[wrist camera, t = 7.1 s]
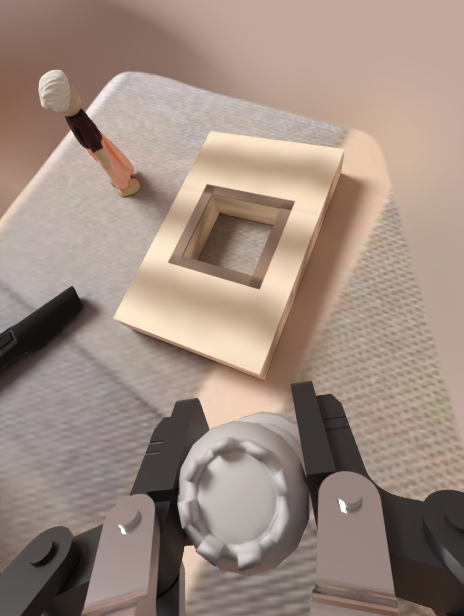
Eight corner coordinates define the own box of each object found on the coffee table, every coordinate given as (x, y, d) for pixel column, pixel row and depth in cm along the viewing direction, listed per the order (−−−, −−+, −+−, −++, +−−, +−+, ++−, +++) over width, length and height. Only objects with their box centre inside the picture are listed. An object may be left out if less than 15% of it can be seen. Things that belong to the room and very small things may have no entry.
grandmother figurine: (154, 184, 37) (86, 74, 26) (130, 207, 37) (49, 105, 25) (117, 156, 40) (41, 46, 29) (95, 176, 40) (8, 73, 28)
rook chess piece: (260, 392, 15) (222, 356, 8) (342, 459, 14) (387, 489, 6) (200, 470, 15) (98, 509, 7) (279, 551, 13) (249, 702, 6)
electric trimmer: (99, 313, 34) (80, 301, 31) (-28, 404, 33) (-60, 402, 30) (85, 287, 35) (65, 274, 32) (-37, 374, 34) (-68, 369, 31)
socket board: (264, 380, 27) (259, 374, 24) (130, 328, 32) (113, 318, 29) (341, 172, 33) (344, 149, 30) (217, 153, 37) (210, 131, 34)
